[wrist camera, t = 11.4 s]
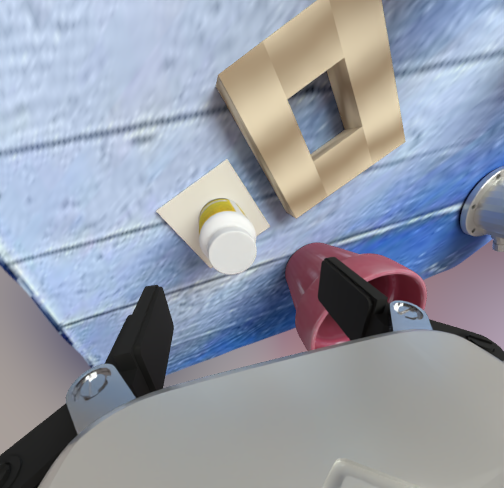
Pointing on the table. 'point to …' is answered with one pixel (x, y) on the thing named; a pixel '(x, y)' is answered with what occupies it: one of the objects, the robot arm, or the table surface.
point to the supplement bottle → (227, 236)
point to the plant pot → (365, 265)
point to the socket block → (344, 89)
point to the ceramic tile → (202, 191)
